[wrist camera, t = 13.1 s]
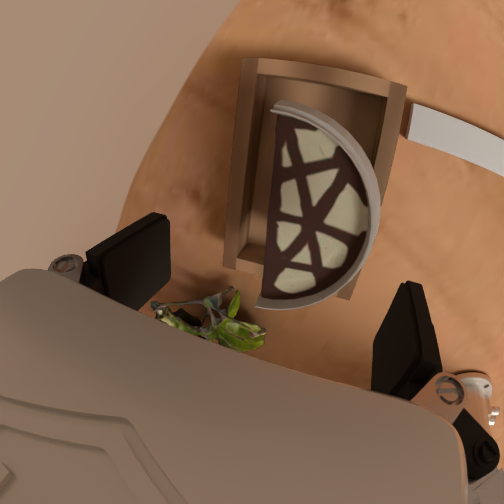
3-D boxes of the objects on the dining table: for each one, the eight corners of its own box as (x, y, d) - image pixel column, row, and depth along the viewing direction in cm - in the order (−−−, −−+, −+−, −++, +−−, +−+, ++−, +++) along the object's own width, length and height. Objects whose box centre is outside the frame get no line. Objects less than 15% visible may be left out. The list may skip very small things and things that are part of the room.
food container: (353, 257, 25) (350, 335, 16) (287, 243, 26) (253, 313, 18) (381, 116, 19) (407, 121, 10) (302, 103, 20) (271, 98, 12)
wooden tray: (397, 89, 18) (407, 86, 15) (350, 276, 27) (349, 300, 23) (257, 63, 20) (242, 57, 17) (237, 246, 29) (222, 266, 26)
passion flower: (216, 294, 40) (134, 315, 33) (247, 247, 33) (143, 266, 26) (254, 366, 36) (169, 401, 29) (298, 335, 28) (190, 381, 21)
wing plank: (506, 142, 16) (513, 145, 15) (499, 173, 18) (506, 177, 16) (410, 103, 18) (414, 103, 17) (404, 137, 20) (407, 139, 19)
